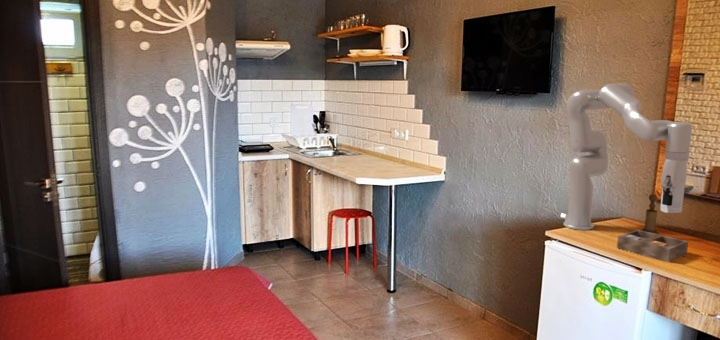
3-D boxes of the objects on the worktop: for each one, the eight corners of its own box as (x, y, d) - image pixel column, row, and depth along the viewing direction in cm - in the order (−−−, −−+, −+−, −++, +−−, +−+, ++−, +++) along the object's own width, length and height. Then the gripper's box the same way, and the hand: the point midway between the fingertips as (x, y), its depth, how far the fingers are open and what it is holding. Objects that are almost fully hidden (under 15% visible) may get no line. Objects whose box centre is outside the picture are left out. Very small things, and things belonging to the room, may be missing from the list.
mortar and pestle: (660, 239, 221) (664, 196, 218) (643, 238, 222) (647, 195, 219) (654, 234, 227) (659, 192, 224) (638, 233, 229) (642, 192, 226)
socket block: (616, 248, 209) (618, 235, 208) (636, 241, 218) (637, 228, 217) (668, 262, 194) (669, 247, 193) (686, 254, 203) (688, 240, 202)
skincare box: (673, 210, 203) (677, 178, 201) (682, 213, 199) (686, 180, 197) (659, 210, 202) (662, 179, 200) (667, 213, 198) (671, 181, 196)
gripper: (676, 153, 205) (672, 198, 208) (654, 157, 195) (650, 204, 198) (698, 155, 199) (693, 202, 202) (676, 159, 189) (671, 209, 192)
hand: (671, 203), depth 200 cm, fingers closed on skincare box, 7 cm apart
